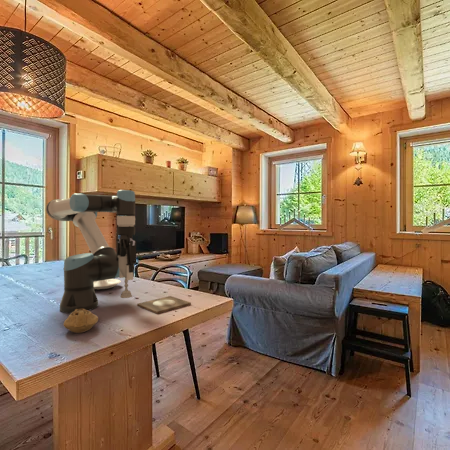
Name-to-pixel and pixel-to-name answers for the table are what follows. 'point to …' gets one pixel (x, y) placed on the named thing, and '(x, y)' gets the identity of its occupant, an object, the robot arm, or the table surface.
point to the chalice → (124, 272)
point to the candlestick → (105, 284)
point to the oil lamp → (80, 321)
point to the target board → (163, 304)
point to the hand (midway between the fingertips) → (126, 278)
